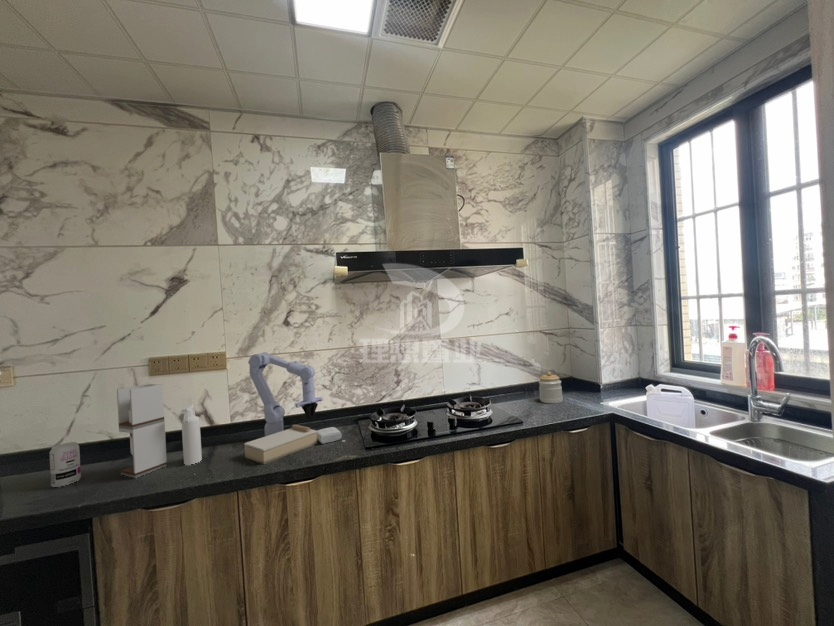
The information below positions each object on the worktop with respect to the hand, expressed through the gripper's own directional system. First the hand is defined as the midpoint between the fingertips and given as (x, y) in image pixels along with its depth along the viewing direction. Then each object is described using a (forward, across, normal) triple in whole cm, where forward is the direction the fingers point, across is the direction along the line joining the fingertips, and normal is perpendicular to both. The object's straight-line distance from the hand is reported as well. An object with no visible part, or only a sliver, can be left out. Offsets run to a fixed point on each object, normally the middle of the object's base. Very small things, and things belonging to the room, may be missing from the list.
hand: (310, 418), depth 171 cm
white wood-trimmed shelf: (+10, -59, +32) cm, 68 cm away
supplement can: (+10, -80, +48) cm, 94 cm away
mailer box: (+9, -17, -2) cm, 20 cm away
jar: (+10, +110, -84) cm, 139 cm away
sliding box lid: (+4, -17, -2) cm, 18 cm away
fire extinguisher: (+10, -44, +23) cm, 51 cm away
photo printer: (+7, 0, -15) cm, 17 cm away
